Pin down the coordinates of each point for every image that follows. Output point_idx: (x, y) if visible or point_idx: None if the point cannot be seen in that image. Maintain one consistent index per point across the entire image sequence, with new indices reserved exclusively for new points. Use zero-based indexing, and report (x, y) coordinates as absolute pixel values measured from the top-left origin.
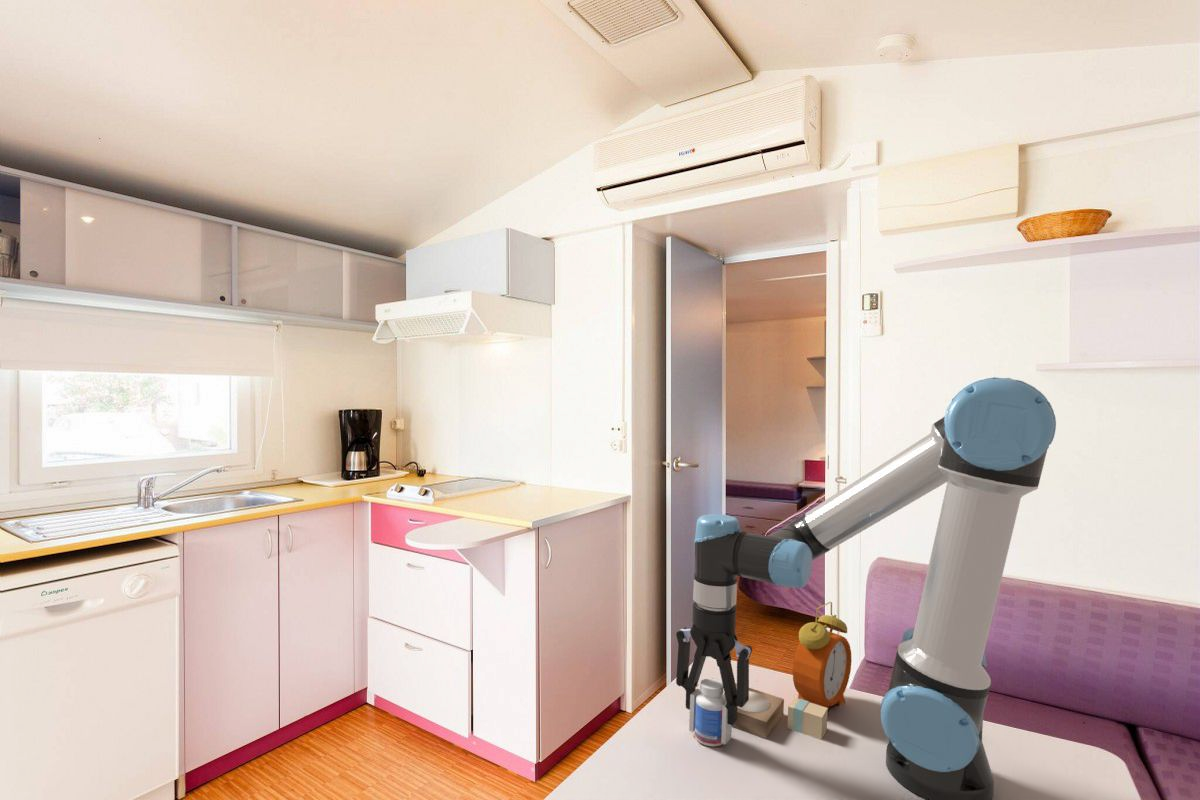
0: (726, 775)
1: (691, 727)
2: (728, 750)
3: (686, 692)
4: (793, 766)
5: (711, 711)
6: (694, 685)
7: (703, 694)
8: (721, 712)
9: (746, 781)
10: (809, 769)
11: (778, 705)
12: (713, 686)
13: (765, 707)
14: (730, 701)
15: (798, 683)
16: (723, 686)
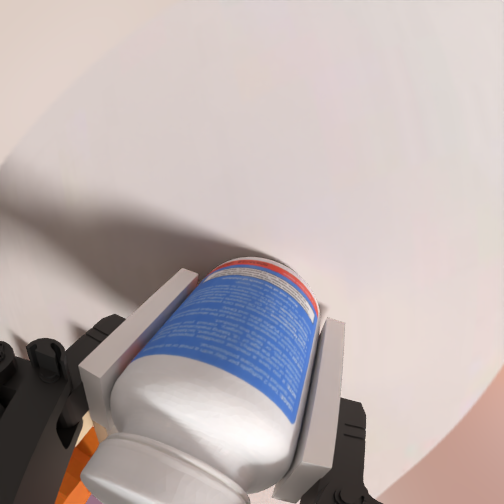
0: (153, 99)
1: (333, 330)
2: (178, 258)
3: (359, 478)
4: (34, 241)
5: (171, 351)
6: None
7: (216, 465)
8: (133, 358)
9: (97, 106)
10: (16, 242)
11: (96, 434)
12: (125, 501)
13: (112, 430)
14: (37, 382)
15: (70, 472)
16: (22, 466)
